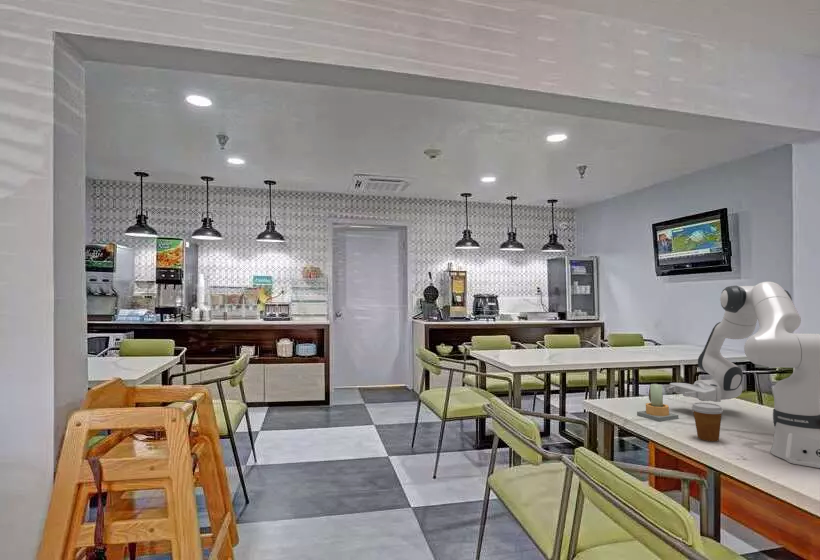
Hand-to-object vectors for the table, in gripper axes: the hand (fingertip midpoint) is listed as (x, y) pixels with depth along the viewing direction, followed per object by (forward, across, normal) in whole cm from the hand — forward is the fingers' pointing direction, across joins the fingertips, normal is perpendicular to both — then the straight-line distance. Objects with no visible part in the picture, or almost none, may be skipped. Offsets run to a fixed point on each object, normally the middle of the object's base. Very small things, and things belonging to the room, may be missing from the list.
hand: (675, 391), depth 192 cm
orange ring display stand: (+9, 0, +10) cm, 14 cm away
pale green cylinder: (+9, 0, +9) cm, 13 cm away
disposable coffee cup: (+12, +30, +10) cm, 34 cm away
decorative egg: (-5, -19, +10) cm, 22 cm away
